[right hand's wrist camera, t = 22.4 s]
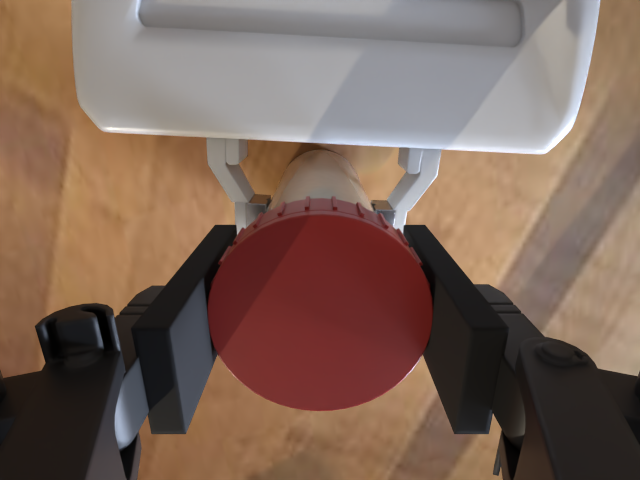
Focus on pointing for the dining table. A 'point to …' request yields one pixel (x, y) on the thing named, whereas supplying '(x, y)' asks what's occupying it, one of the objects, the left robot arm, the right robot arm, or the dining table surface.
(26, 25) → the dining table surface
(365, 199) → the jar
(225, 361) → the lid
